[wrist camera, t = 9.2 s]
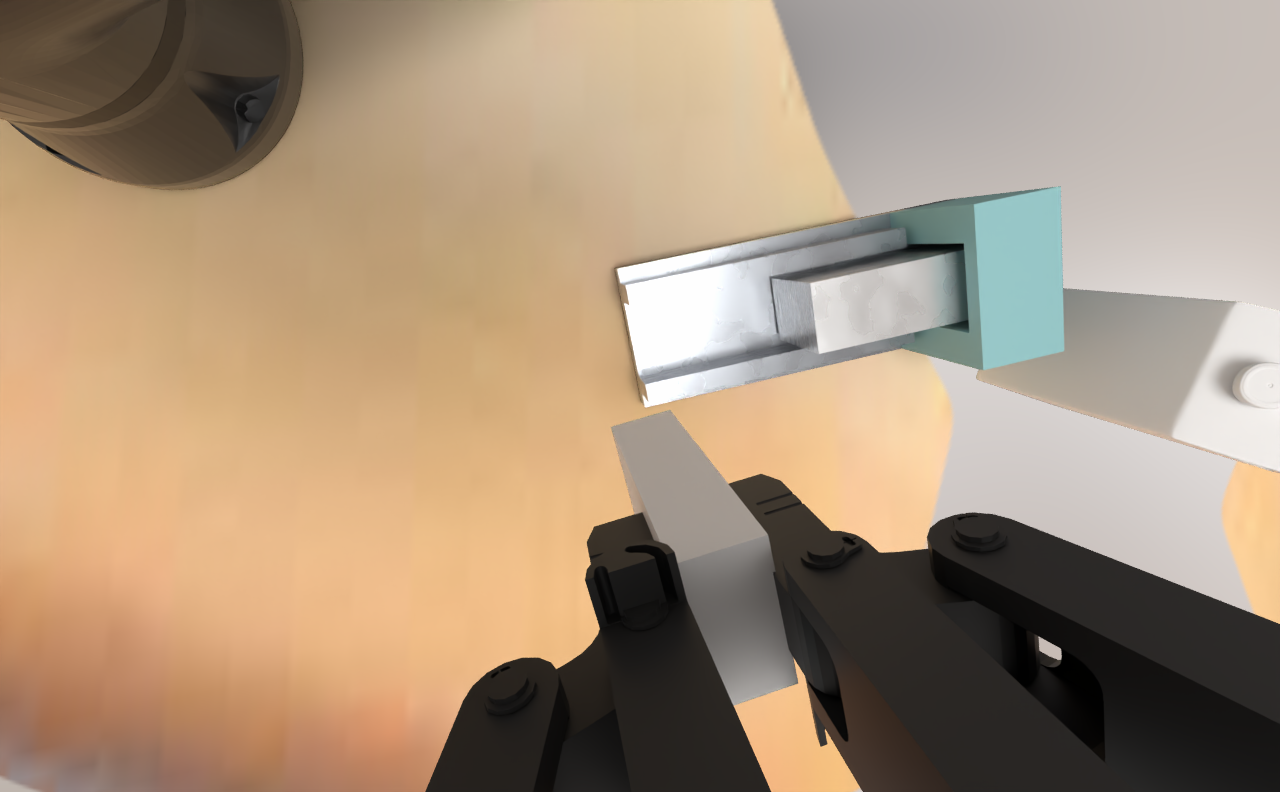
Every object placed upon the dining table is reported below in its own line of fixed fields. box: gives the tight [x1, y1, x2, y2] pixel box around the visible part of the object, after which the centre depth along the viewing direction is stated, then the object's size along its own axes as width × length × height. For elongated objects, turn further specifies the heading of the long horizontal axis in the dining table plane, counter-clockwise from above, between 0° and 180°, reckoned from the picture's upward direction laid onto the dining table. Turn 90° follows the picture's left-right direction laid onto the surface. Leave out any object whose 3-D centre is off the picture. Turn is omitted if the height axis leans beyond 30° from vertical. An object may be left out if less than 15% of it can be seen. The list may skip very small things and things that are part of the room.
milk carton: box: [976, 288, 1280, 473], centre depth 37 cm, size 7×7×19 cm
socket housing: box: [890, 186, 1064, 370], centre depth 38 cm, size 9×5×8 cm, turn 11°
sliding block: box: [771, 243, 969, 354], centre depth 39 cm, size 4×12×6 cm, turn 101°
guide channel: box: [615, 199, 955, 407], centre depth 41 cm, size 9×23×4 cm, turn 101°
